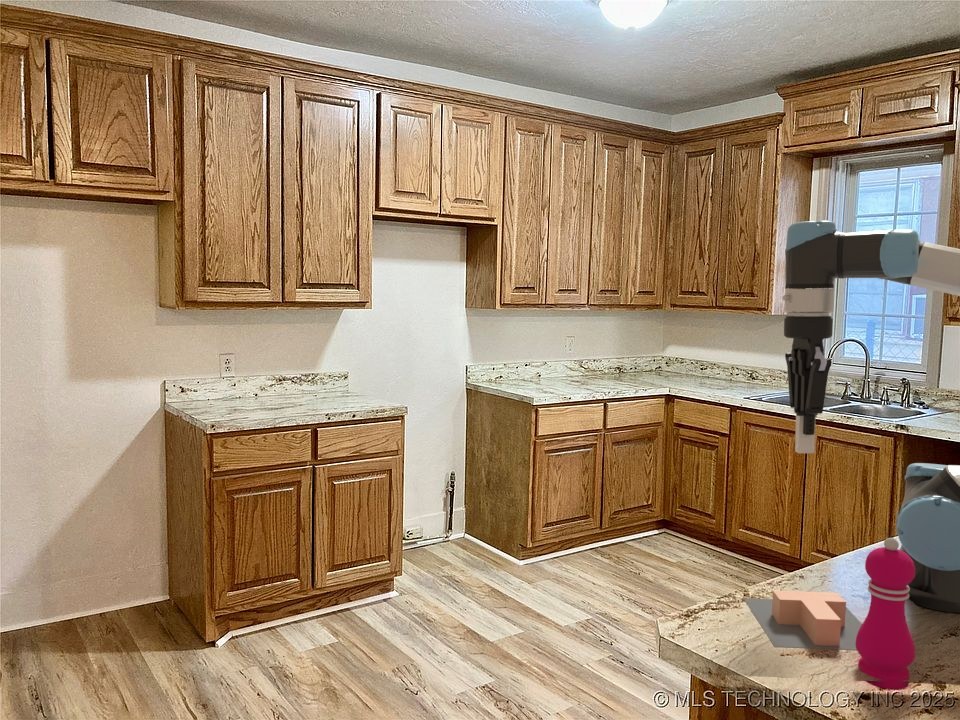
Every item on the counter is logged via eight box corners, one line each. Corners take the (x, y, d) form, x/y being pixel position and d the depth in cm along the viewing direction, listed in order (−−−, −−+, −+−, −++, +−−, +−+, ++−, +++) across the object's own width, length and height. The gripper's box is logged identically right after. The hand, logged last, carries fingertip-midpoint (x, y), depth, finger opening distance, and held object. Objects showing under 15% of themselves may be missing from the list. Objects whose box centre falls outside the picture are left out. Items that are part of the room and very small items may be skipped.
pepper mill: (888, 696, 99) (897, 550, 97) (842, 670, 106) (849, 533, 104) (925, 685, 102) (935, 542, 100) (878, 660, 109) (886, 526, 106)
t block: (836, 616, 120) (837, 592, 120) (862, 646, 110) (864, 620, 110) (771, 614, 121) (772, 590, 120) (792, 644, 111) (793, 618, 111)
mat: (840, 608, 126) (840, 601, 126) (887, 658, 109) (887, 651, 109) (742, 604, 127) (743, 598, 127) (774, 654, 110) (774, 646, 110)
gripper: (771, 313, 133) (768, 444, 135) (802, 316, 120) (798, 461, 122) (813, 313, 133) (810, 444, 135) (849, 315, 120) (844, 460, 122)
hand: (804, 452), depth 129 cm, fingers closed
